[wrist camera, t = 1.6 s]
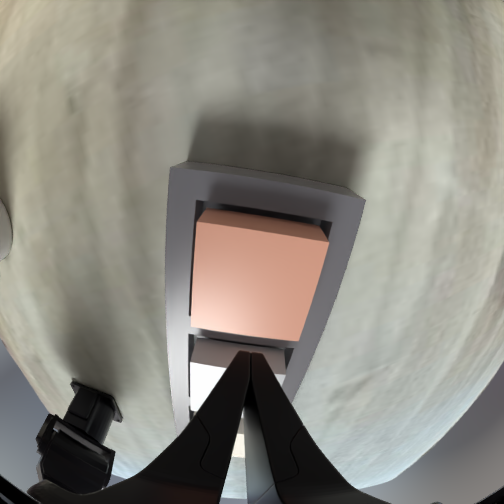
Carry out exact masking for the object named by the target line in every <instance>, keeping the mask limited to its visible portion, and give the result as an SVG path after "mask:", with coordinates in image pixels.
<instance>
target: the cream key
mask: <svg viewBox="0 0 504 504" xmlns="http://www.w3.org/2000/svg"><path fill="white" fill-rule="evenodd" d="M196 412H197V411H194V415H195V414H196ZM194 415H193V416H194ZM232 456H233V457H243V458H245V445H244V423H243V418H241V420H240V424H239V428H238V433H237V437H236V441H235V445H234V449H233V452H232Z"/></svg>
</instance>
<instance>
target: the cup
mask: <svg viewBox="0 0 504 504" xmlns="http://www.w3.org/2000/svg"><path fill="white" fill-rule="evenodd" d="M11 245H12V228H11V222H10V219H9V215H8V213H7V210H6V208H5V206H4V204H3V202H2V200H1V199H0V261H1V260H3V259H4V258H5V257H6V256H7V255H8V254H9V251H10V248H11Z"/></svg>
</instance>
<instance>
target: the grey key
mask: <svg viewBox="0 0 504 504" xmlns="http://www.w3.org/2000/svg"><path fill="white" fill-rule="evenodd" d="M239 350H244V351H249V352H250V353H251V352H260V353H263V355H264V356H265V358H266V360H267V362H268V364H269V365H270V367H271V369H272V371H273V372H274V374H275V376H276V378H277V380H278V381H279V383H280V385H281V387H282V384H283V381H284V379H285V376H286V368H285V356H284V349H277V348H268V347H259V346H251V345H244V344H237V343H230V342H223V341H217V340H211V339H205V338H199V337H197V339H196V343H195V346H194V350H193V354H192V357H191V361H190V404H191V410H192V411H198V410H199V408H200V407H201V405H202V404H203V402H204V401H205V399H206V398H207V397H208V395H209V394H210V392H211V391H212V389H213V388H214V386H215V385H216V383H217V382H218V380H219V379H220V378H221V376H222V375H223V373H224V372H225V370H226V369H227V367H228V366H229V364H230V363H231V361H232V360H233V358H234V356H235V355H236V353H237V352H238V351H239ZM241 418H243V412H242V416H241Z"/></svg>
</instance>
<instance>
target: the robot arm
mask: <svg viewBox="0 0 504 504" xmlns="http://www.w3.org/2000/svg"><path fill="white" fill-rule="evenodd" d="M70 385H71V387H72V389H73V391H74V393H75V396H74V398H73V400H72V402H71V404H70V405H69V407H68V411H67V412H66V414H65V416H64V418H63V420H62V419H61V418H60V417H59V416H58V415H56V414H55V416H54V415H52V414H48V416H47V418H46V420H45V422H44V424H43V426H42V427H41V429H40V431H39V433H38V435H37V437H36V441H37V444H38V445H37V447H38V450H37V453H39V454H40V455H41V457H40V460H39V462H38V464H37V467H36V469H37V474H38V478H39V483H37V484H35V485H33V486H31V487H30V488H29V489H28V490H27V493H28V494H29V495H30V496H31V497H30V496H29V495H27V494H26V493H24V492H23V491H22V490H20V489H19V488H18V487H16V486H15V485H13V484H12V483H11V482H9V481H8V480H7V479H6V478H4V477H3V476H2V475H1V474H0V504H219V502H220V498H221V494H222V491H223V487H224V483H225V479H226V476H227V472H228V468H229V464H230V460H231V456H232V452H233V449H234V445H235V441H236V437H237V433H238V428H239V424H240V420H241V416H242V412H243V423H244V445H245V465H246V484H247V500H248V504H391V503H388V502H386V501H383V500H380V499H378V498H375V497H373V496H371V495H368V494H366V493H363V492H361V491H359V490H358V489H356V488H354V487H353V486H352V485H351V484H349V483H348V482H347V481H346V480H345V478H344V477H343V476H342V475H341V474H340V473H339V472H338V470H337V469H336V468H335V467H334V466H333V465H332V463H331V462H330V461H329V460H328V459H327V458H326V456H325V455H324V454H323V453H322V451H321V450H320V449H319V447H318V446H317V445H316V443H315V442H314V440H313V439H312V437H311V436H310V434H309V433H308V431H307V429H306V428H305V426H304V425H303V423H302V421H301V419H300V418H299V416H298V414H297V413H296V411H295V409H294V407H293V406H292V404H291V402H290V401H289V399H288V397H287V395H286V394H285V392H284V390H283V388H282V387H281V385H280V383H279V381H278V380H277V378H276V376H275V374H274V372H273V371H272V369H271V367H270V365H269V364H268V362H267V360H266V358H265V356H264V355H263V353H260V352H251V353H250V352H249V351H244V350H239V351H238V352H237V353H236V355H235V356H234V358H233V360H232V361H231V363H230V364H229V366H228V367H227V369H226V370H225V372H224V373H223V375H222V376H221V378H220V379H219V380H218V382H217V383H216V385H215V386H214V388H213V389H212V391H211V392H210V394H209V395H208V397H207V398H206V399H205V401H204V402H203V404H202V405H201V407H200V408H199V410H198V411H197V412H196V414H195V415H194V416H193V418H192V419H191V421H190V422H189V423H188V425H187V426H186V427H185V428H184V430H183V431H182V432H181V433H180V435H179V436H178V437H177V438H176V439H175V440H174V441H173V442H172V443H171V444H170V445H169V446H168V447H167V448H166V449H165V450H164V451H163V452H162V453H161V454H160V455H159V456H158V457H157V458H155V459H154V460H153V461H152V462H151V463H150V464H149V465H148V466H147V467H146V468H144V469H143V470H142V471H140V472H139V473H138V474H136V475H134V476H133V477H131V478H128V479H126V480H124V481H121V482H119V483H117V484H114V485H112V486H109V487H107V488H106V486H107V485H108V483H109V480H110V477H111V472H112V467H113V461H114V456H115V451H114V450H112V449H109V448H107V447H105V446H103V443H104V441H105V438H106V436H107V433H108V431H109V428H110V426H111V423H112V421H113V420H114V421H117V422H120V423H121V422H122V417H121V415H120V413H119V410H118V408H117V406H116V403H115V401H114V398H113V397H112V396H110V395H107V394H104V393H101V392H98V391H96V390H93V389H90V388H88V387H85V386H83V385H80V384H78V383H75V382H73V381H72V382H71V384H70ZM53 428H55V429H57V430H58V432H56V431H55V430H53ZM32 497H33V498H34V499H33V498H32ZM36 500H37V501H36ZM431 504H442V503H440V502H434V503H431ZM475 504H504V486H502V487H501V488H499V489H498V490H496V491H495V492H493V493H492V494H490V495H488V496H487V497H485V498H483V499H482V500H480V501H478V502H477V503H475Z"/></svg>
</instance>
